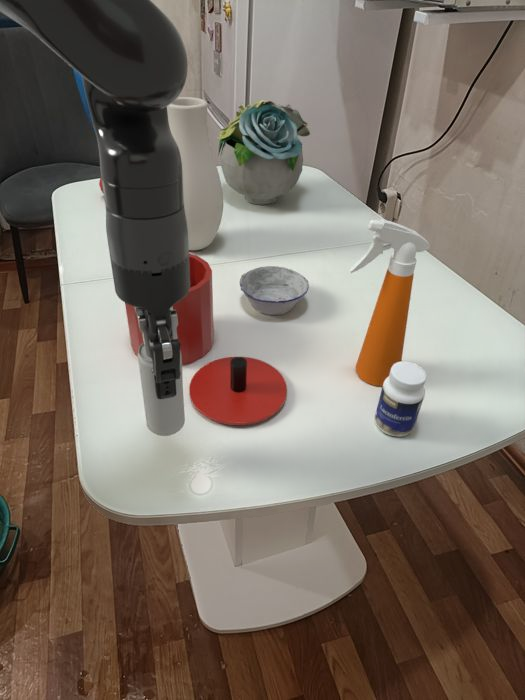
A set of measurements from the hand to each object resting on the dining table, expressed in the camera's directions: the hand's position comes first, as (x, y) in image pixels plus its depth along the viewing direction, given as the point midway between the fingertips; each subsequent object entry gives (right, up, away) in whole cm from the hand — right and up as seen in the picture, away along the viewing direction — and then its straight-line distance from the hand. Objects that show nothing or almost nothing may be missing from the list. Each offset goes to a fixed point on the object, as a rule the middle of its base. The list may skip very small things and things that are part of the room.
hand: (162, 380), depth 60 cm
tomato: (-27, +44, +76) cm, 92 cm away
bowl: (+14, +12, +38) cm, 43 cm away
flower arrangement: (+11, +44, +79) cm, 91 cm away
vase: (-4, +27, +56) cm, 62 cm away
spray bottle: (+29, 0, +23) cm, 37 cm away
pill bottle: (+31, -7, +15) cm, 35 cm away
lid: (+8, -3, +18) cm, 20 cm away
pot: (-4, +5, +28) cm, 29 cm away
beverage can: (0, -6, +5) cm, 8 cm away
